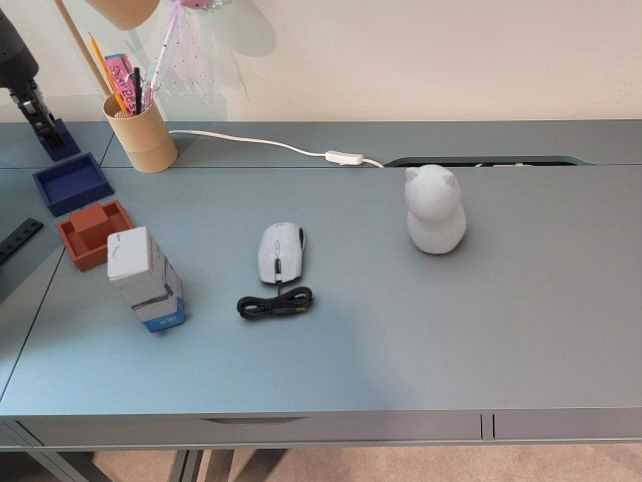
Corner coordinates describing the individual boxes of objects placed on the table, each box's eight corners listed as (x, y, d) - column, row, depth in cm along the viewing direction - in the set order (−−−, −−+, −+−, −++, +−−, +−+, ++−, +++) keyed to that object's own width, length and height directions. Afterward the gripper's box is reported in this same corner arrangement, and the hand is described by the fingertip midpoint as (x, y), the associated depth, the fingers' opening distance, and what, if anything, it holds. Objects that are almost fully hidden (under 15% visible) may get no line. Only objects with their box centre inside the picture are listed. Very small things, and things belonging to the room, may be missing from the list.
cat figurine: (401, 260, 97) (389, 187, 85) (420, 202, 105) (411, 128, 93) (460, 267, 96) (455, 194, 84) (474, 208, 104) (472, 134, 92)
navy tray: (55, 217, 101) (46, 206, 100) (39, 185, 106) (31, 174, 104) (114, 193, 105) (107, 181, 103) (97, 163, 110) (90, 151, 108)
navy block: (53, 162, 110) (39, 141, 106) (46, 148, 112) (32, 127, 108) (81, 151, 111) (67, 131, 108) (73, 138, 113) (60, 117, 110)
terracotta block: (91, 253, 96) (76, 232, 93) (82, 235, 99) (67, 215, 95) (122, 239, 98) (108, 219, 95) (112, 222, 100) (98, 202, 97)
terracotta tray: (81, 272, 95) (72, 261, 93) (63, 235, 99) (55, 224, 97) (143, 244, 98) (137, 233, 96) (124, 210, 103) (117, 198, 101)
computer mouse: (316, 222, 102) (310, 204, 98) (314, 315, 90) (308, 298, 87) (251, 229, 100) (243, 211, 97) (241, 324, 89) (232, 307, 86)
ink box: (185, 324, 89) (150, 270, 80) (147, 334, 88) (107, 281, 79) (181, 278, 94) (148, 223, 85) (145, 287, 93) (107, 232, 84)
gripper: (32, 62, 94) (87, 149, 106) (14, 19, 101) (68, 106, 114) (-26, 79, 91) (38, 166, 104) (-40, 34, 98) (22, 121, 111)
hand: (54, 134), depth 109 cm, fingers open, 8 cm apart
